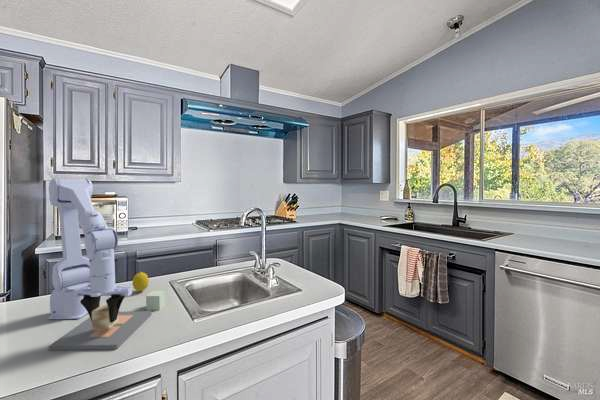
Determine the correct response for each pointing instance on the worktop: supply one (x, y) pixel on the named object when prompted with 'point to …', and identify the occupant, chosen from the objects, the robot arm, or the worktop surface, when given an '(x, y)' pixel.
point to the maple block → (102, 318)
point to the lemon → (140, 281)
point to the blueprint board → (102, 333)
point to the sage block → (155, 300)
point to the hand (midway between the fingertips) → (104, 320)
